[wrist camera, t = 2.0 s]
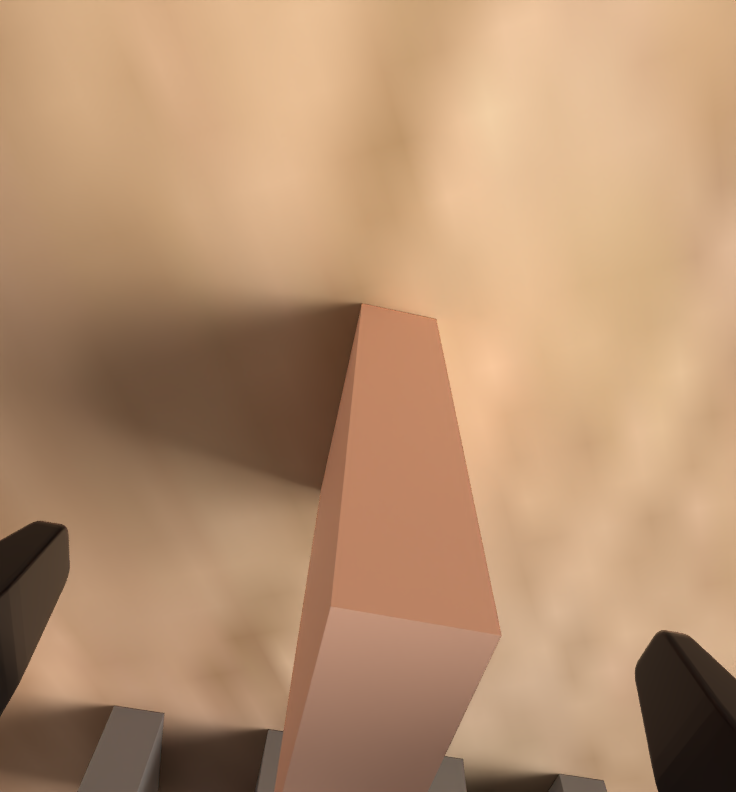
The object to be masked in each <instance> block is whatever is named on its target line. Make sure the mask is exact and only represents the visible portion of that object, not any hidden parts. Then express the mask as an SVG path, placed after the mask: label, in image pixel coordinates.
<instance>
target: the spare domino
mask: <svg viewBox="0 0 736 792" xmlns="http://www.w3.org/2000/svg"><path fill="white" fill-rule="evenodd" d="M500 638H501V631H500V626H499V621H498V616H497V611H496V606H495V602H494V597H493V592H492V587H491V582H490V577H489V573H488V568H487V563H486V558H485V553H484V548H483V543H482V539H481V534H480V529H479V524H478V519H477V514H476V509H475V505H474V500H473V495H472V490H471V485H470V480H469V476H468V471H467V466H466V461H465V456H464V451H463V446H462V442H461V437H460V432H459V427H458V422H457V417H456V413H455V408H454V403H453V398H452V393H451V388H450V383H449V379H448V374H447V369H446V364H445V359H444V354H443V349H442V345H441V340H440V335H439V330H438V325H437V320H436V319H433V318H428V317H424V316H419V315H414V314H409V313H405V312H400V311H395V310H391V309H386V308H381V307H376V306H372V305H367V304H362V305H361V310H360V314H359V319H358V323H357V328H356V332H355V337H354V341H353V346H352V351H351V355H350V360H349V364H348V369H347V373H346V378H345V382H344V387H343V392H342V396H341V401H340V405H339V410H338V414H337V419H336V424H335V428H334V433H333V437H332V442H331V446H330V451H329V455H328V460H327V465H326V469H325V474H324V478H323V483H322V487H321V492H320V499H319V505H318V512H317V518H316V525H315V531H314V538H313V544H312V551H311V557H310V564H309V570H308V576H307V583H306V589H305V596H304V602H303V609H302V615H301V622H300V628H299V635H298V641H297V648H296V654H295V660H294V667H293V673H292V680H291V686H290V693H289V699H288V706H287V712H286V719H285V725H284V732H283V738H282V744H281V751H280V757H279V764H278V770H277V777H276V783H275V790H274V792H428V790H429V788H430V786H431V784H432V782H433V779H434V777H435V775H436V773H437V771H438V769H439V767H440V765H441V763H442V760H443V758H444V756H445V754H446V752H447V750H448V748H449V746H450V744H451V741H452V739H453V737H454V735H455V733H456V731H457V729H458V727H459V724H460V722H461V720H462V718H463V716H464V714H465V712H466V710H467V708H468V705H469V703H470V701H471V699H472V697H473V695H474V693H475V691H476V689H477V686H478V684H479V682H480V680H481V678H482V676H483V674H484V672H485V670H486V667H487V665H488V663H489V661H490V659H491V657H492V655H493V653H494V650H495V648H496V646H497V644H498V642H499V640H500Z"/></svg>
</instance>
